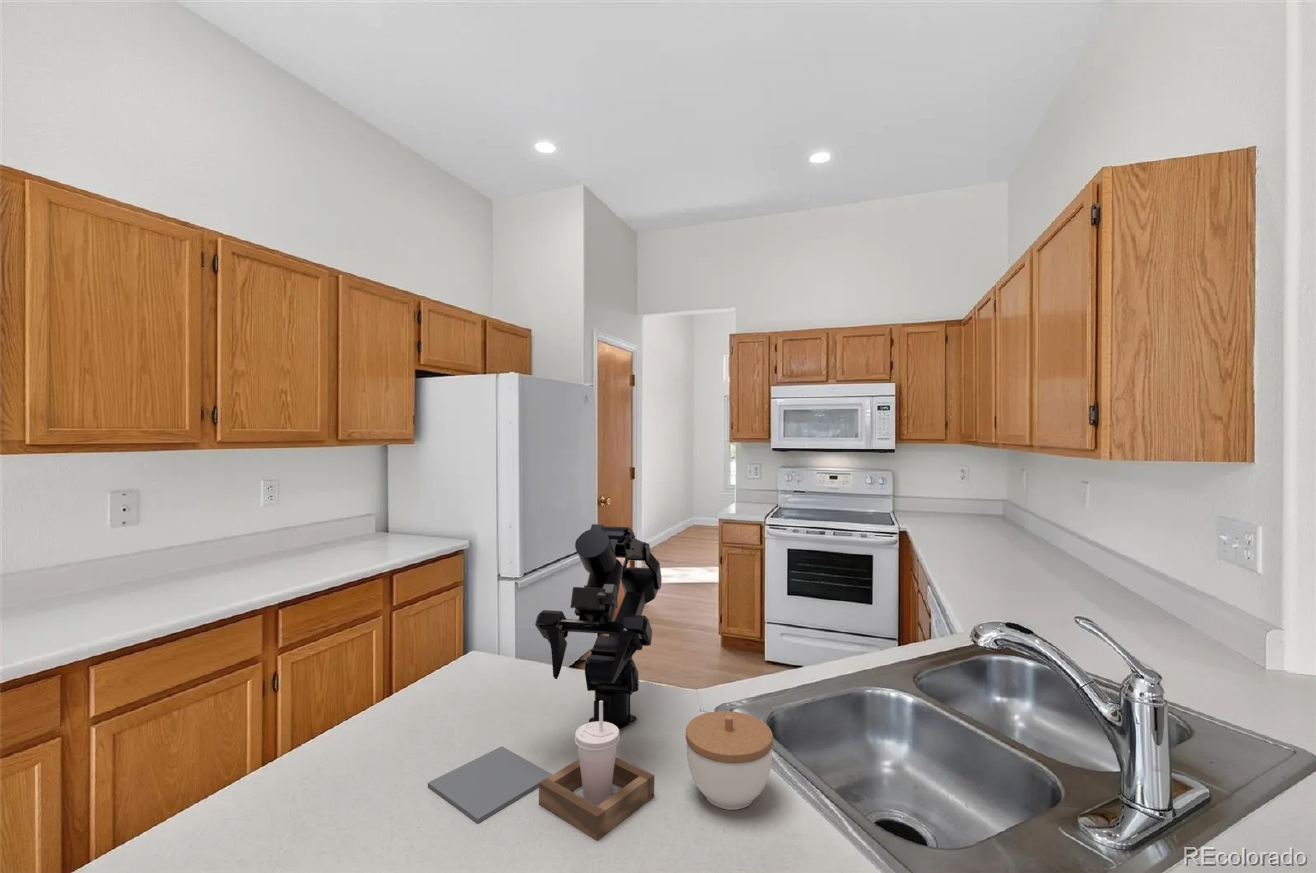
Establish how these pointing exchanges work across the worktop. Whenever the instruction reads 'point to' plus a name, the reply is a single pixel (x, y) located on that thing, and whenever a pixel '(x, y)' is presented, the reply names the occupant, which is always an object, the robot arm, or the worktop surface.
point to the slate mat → (489, 783)
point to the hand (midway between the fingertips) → (583, 680)
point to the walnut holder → (586, 814)
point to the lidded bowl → (729, 757)
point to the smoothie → (597, 757)
